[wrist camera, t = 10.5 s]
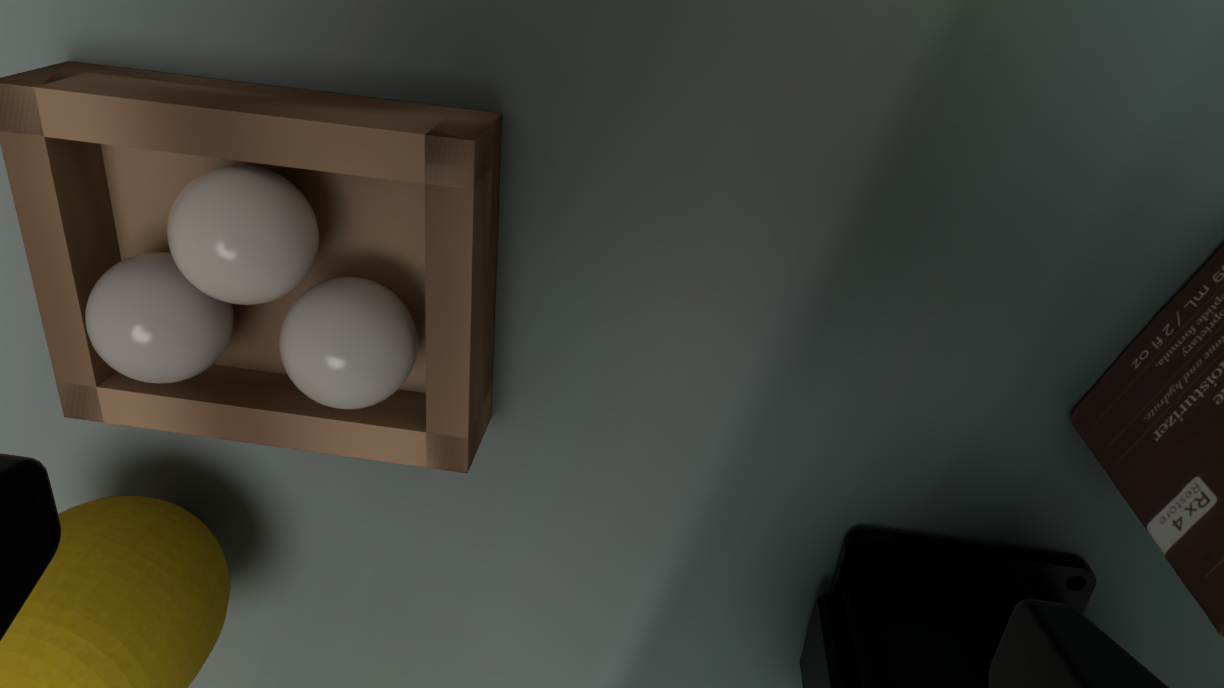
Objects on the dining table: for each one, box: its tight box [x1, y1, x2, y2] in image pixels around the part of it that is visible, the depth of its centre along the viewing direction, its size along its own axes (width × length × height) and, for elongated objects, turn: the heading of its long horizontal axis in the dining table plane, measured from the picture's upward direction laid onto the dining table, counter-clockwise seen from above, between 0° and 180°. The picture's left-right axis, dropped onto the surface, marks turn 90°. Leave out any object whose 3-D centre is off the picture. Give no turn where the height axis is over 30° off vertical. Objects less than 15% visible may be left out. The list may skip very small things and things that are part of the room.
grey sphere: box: [279, 276, 418, 409], centre depth 20 cm, size 3×3×3 cm
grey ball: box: [167, 164, 319, 305], centre depth 19 cm, size 3×3×3 cm
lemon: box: [0, 496, 230, 688], centre depth 22 cm, size 6×6×8 cm
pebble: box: [85, 252, 234, 384], centre depth 20 cm, size 3×3×3 cm
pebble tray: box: [0, 61, 502, 473], centre depth 20 cm, size 10×8×2 cm
